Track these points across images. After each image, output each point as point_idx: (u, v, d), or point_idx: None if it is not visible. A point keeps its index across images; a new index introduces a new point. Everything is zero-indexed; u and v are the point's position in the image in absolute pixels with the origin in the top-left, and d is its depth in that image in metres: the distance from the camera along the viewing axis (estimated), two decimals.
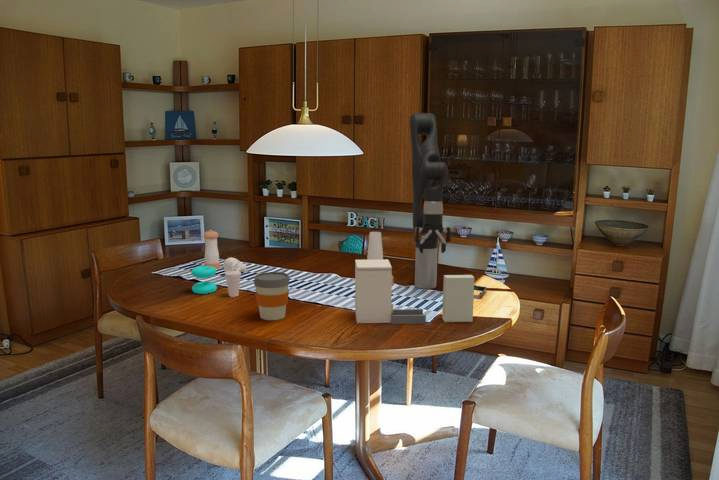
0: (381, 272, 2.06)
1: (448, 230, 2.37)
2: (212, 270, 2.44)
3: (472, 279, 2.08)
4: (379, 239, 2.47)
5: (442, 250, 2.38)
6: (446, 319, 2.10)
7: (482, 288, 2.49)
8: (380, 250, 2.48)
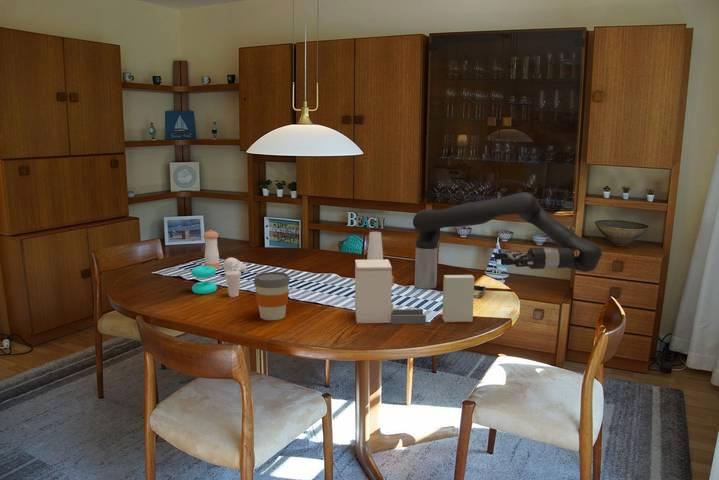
0: (381, 272, 2.06)
1: None
2: (212, 270, 2.44)
3: (472, 279, 2.08)
4: (379, 239, 2.47)
5: (497, 259, 2.13)
6: (446, 319, 2.10)
7: (481, 288, 2.50)
8: (380, 250, 2.48)
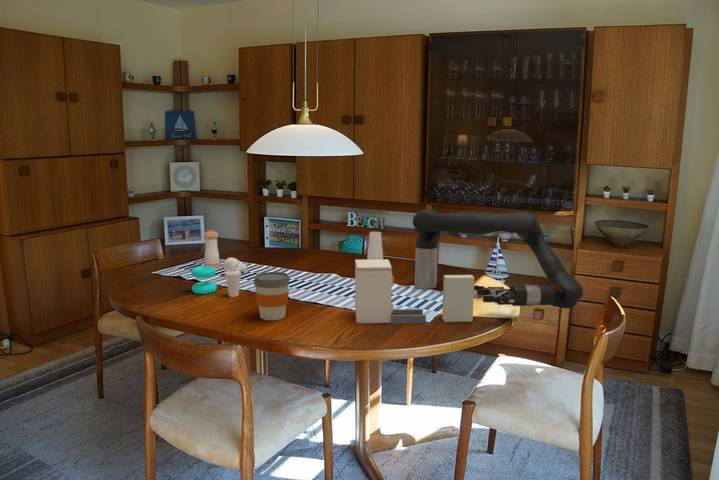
0: (381, 272, 2.06)
1: None
2: (212, 270, 2.44)
3: (472, 279, 2.08)
4: (379, 239, 2.47)
5: None
6: (446, 319, 2.10)
7: (480, 287, 2.50)
8: (380, 250, 2.48)
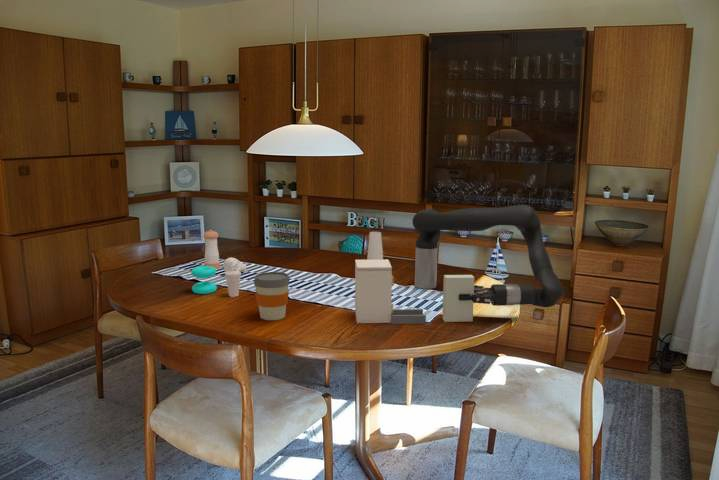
0: (381, 272, 2.06)
1: None
2: (212, 270, 2.44)
3: (472, 279, 2.08)
4: (379, 239, 2.47)
5: None
6: (446, 319, 2.10)
7: None
8: (380, 250, 2.48)
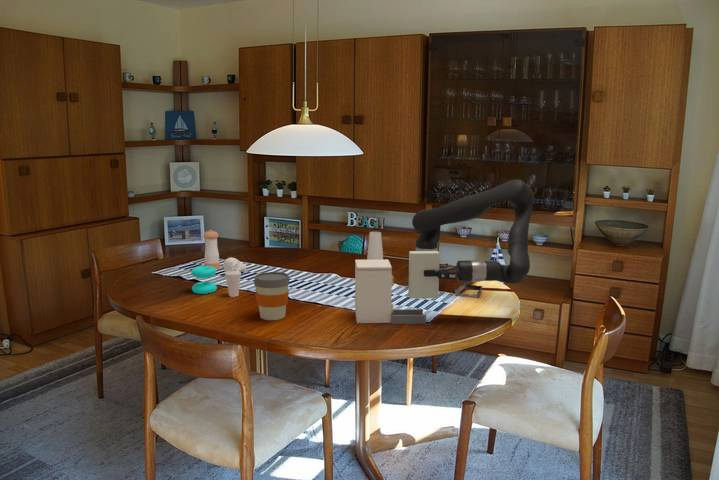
0: (381, 272, 2.06)
1: None
2: (212, 270, 2.44)
3: (437, 255, 2.06)
4: (379, 239, 2.47)
5: None
6: (411, 295, 2.08)
7: (478, 287, 2.51)
8: (380, 250, 2.48)
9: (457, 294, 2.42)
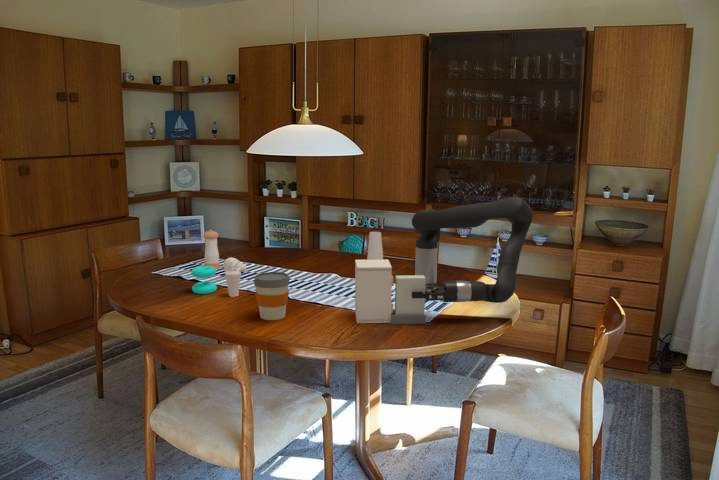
0: (381, 272, 2.06)
1: None
2: (212, 270, 2.44)
3: (423, 279, 2.07)
4: (379, 239, 2.47)
5: None
6: None
7: None
8: (380, 250, 2.48)
9: None
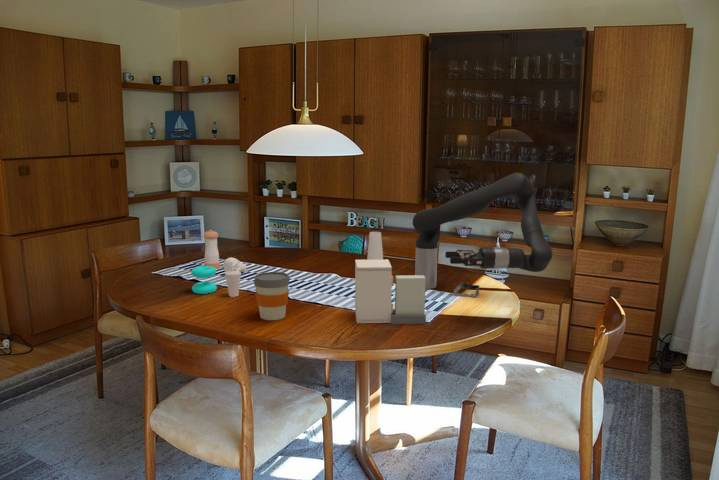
0: (381, 272, 2.06)
1: None
2: (212, 270, 2.44)
3: (423, 279, 2.07)
4: (379, 239, 2.47)
5: (448, 257, 2.12)
6: None
7: (474, 286, 2.52)
8: (380, 250, 2.48)
9: (455, 294, 2.43)
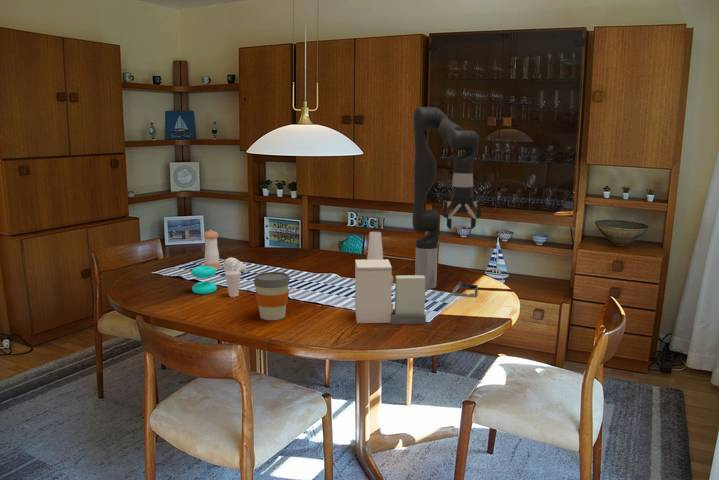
0: (381, 272, 2.06)
1: (478, 204, 2.21)
2: (212, 270, 2.44)
3: (423, 280, 2.07)
4: (379, 239, 2.47)
5: (472, 226, 2.23)
6: None
7: (473, 286, 2.52)
8: (380, 250, 2.48)
9: (455, 294, 2.43)
